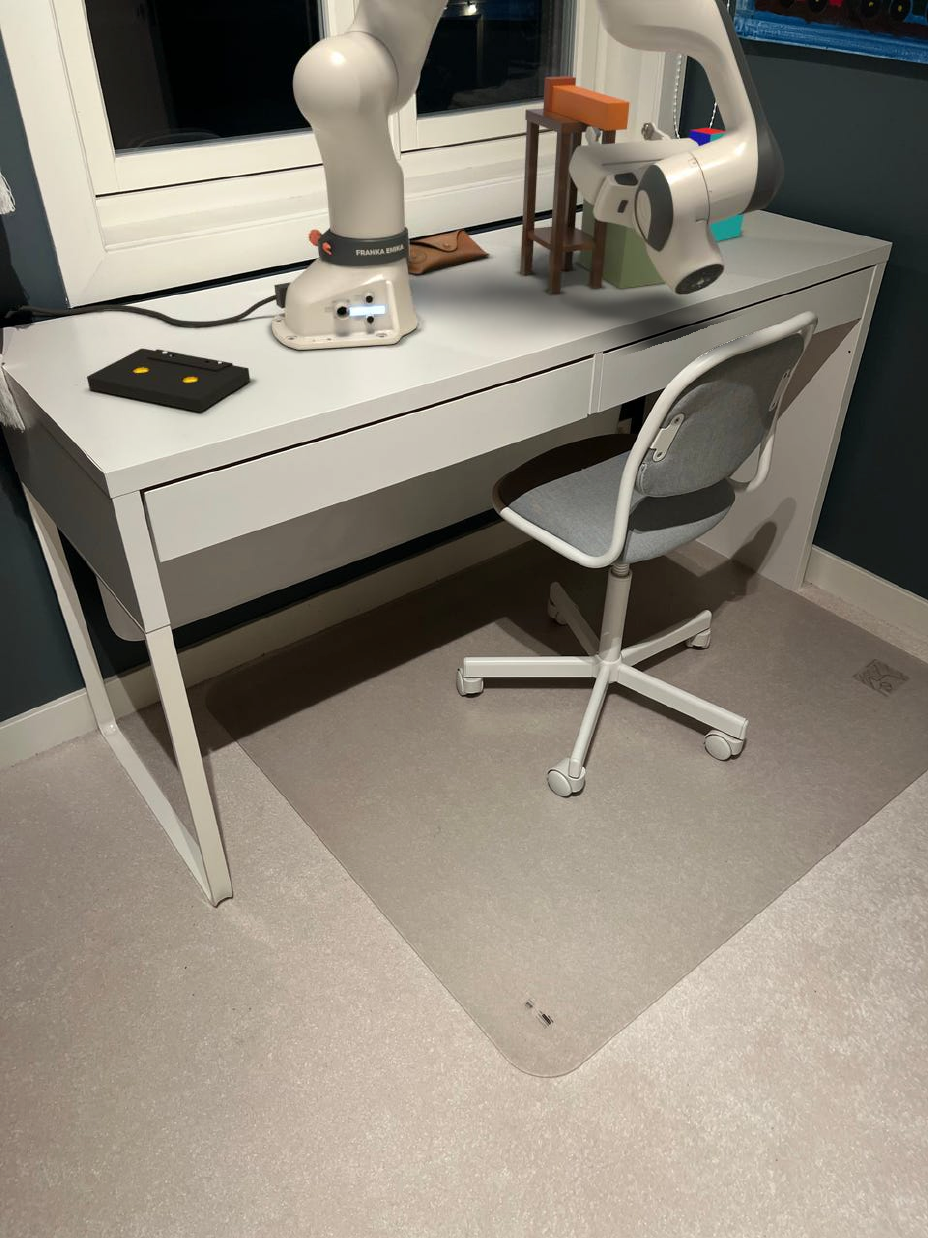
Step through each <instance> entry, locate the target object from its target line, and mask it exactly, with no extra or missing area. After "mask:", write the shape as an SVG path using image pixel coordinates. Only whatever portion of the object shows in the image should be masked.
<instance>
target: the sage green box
mask: <svg viewBox="0 0 928 1238" xmlns="http://www.w3.org/2000/svg"><path fill="white" fill-rule="evenodd" d="M593 209H594V205H592V204H590V203H589V202H587V201H586V200H585V199H584V198H583V199H582V210H581V211H582V212H581V213H582V214H581V226H580V230H581V231H583V232H585V233H587V234H589V235H591V236H592V237H593V236H594V224H595V216H594V214H593ZM578 252H579V253H578V265H580V266H582V267H583V268H585V269H587V270H588V271H589V272H590V271H591V259H592V249H591V250H582V251H578ZM602 280H605V281H606V282H608V283H610V284H612V285H614V286H615V287H617V288H618V289H621V290H622V289H628V288H630V289H631V288H636V287H643V286H644V287H645V286H652V285H660V284H661V285H662V284H666V283H665V282H664V280H663V279H662V277H661V276H660V274H659V273H658V271H657V270H656V268H655V266H654V265H653V263H652V261H651V259H650V257H649V255H648V253H647V251H646V245H645V241H644V240H643V239H642V238H641V237H640V236H639V235H638V233H637V232H636V230H635V229H633V228H629V227H626V226H623V225H620V224H615V223H610V222H608V223H607V234H606V245H605V255H604V266H603V277H602Z"/></svg>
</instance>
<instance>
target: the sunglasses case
mask: <svg viewBox="0 0 928 1238" xmlns="http://www.w3.org/2000/svg"><path fill="white" fill-rule="evenodd" d="M409 246H410V257H409V266H408V274H413V275H421V274H424V273H427V272H430V271H435V270H441V269H443V268H444V269H445V268H448V267H453V266H458V265H462V264H467V263H470V262H473V261H477V260H480V259H482V258H485V257H488V256H490V255H491V254H490V253H488V252H486V251H485V250H484V249H483V248H482V247H481V246H480V245H479V244H478V243H477V242H476V241H475V240H473V239H472V237H470V235H468V234H467V233H466V230H465V229H464V228H461V229H459V230H456V231H453V232H450V233H444V234H439V235H434V236H429V237H425V238H421V239H417V240H416V239H415V240H409Z"/></svg>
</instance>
